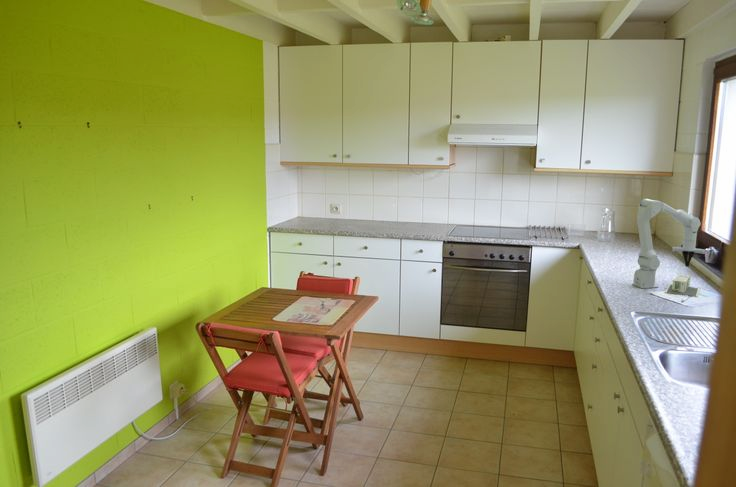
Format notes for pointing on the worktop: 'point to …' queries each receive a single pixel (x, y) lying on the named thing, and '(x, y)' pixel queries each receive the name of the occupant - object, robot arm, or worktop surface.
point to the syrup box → (681, 283)
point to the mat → (690, 292)
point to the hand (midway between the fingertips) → (687, 266)
